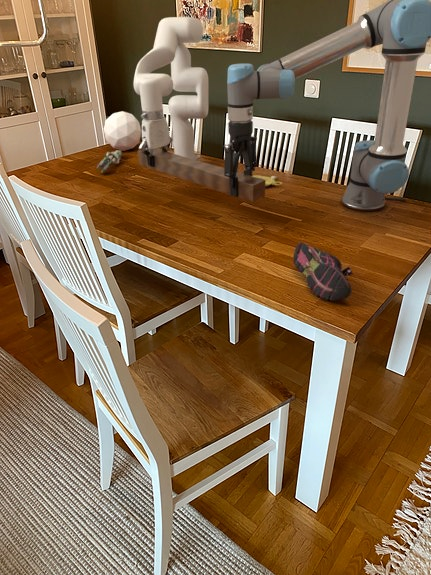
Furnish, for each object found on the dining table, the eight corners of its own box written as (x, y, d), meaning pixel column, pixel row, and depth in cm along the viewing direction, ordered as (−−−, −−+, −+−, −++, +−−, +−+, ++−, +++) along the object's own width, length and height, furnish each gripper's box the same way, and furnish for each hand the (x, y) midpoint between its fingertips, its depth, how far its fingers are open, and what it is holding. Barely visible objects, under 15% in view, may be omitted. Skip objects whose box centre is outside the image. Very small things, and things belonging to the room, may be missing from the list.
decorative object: (249, 169, 197) (291, 174, 187) (250, 175, 198) (291, 179, 189) (226, 183, 183) (269, 189, 173) (226, 189, 184) (269, 195, 174)
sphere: (117, 161, 243) (97, 129, 240) (149, 144, 245) (129, 111, 242) (115, 152, 224) (93, 117, 222) (149, 133, 226) (128, 98, 224)
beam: (139, 164, 174) (137, 150, 171) (151, 160, 178) (149, 146, 174) (252, 202, 141) (253, 185, 138) (264, 196, 145) (265, 179, 142)
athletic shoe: (338, 290, 105) (377, 282, 109) (296, 227, 116) (333, 222, 121) (320, 318, 113) (358, 309, 118) (283, 256, 125) (319, 251, 129)
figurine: (101, 154, 197) (119, 141, 223) (91, 167, 200) (110, 152, 227) (114, 165, 199) (130, 151, 225) (103, 178, 203) (121, 162, 229)
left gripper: (141, 121, 153) (147, 171, 163) (177, 111, 164) (181, 159, 174) (127, 118, 158) (134, 167, 168) (164, 109, 168) (168, 156, 178)
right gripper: (229, 128, 127) (230, 204, 139) (269, 116, 138) (267, 187, 151) (210, 125, 131) (213, 199, 144) (250, 113, 143) (250, 182, 155)
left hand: (158, 163), depth 170 cm, fingers closed on beam, 6 cm apart
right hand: (240, 192), depth 147 cm, fingers closed on beam, 6 cm apart
